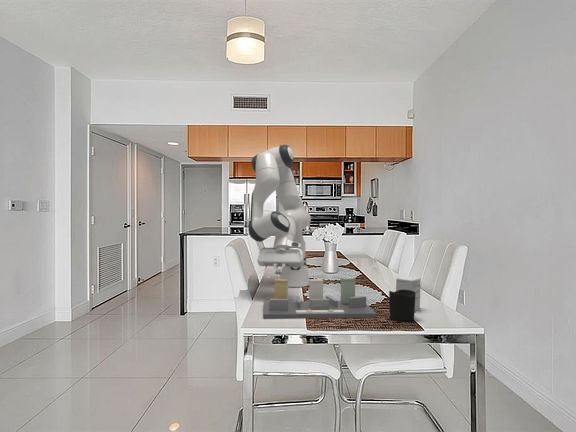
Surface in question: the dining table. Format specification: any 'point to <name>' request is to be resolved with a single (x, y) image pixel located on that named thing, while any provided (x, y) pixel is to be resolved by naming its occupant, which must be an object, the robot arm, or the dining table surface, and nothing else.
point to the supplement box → (410, 287)
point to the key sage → (347, 289)
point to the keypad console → (318, 308)
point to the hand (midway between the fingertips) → (278, 273)
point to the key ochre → (281, 288)
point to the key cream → (315, 289)
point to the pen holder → (402, 305)
